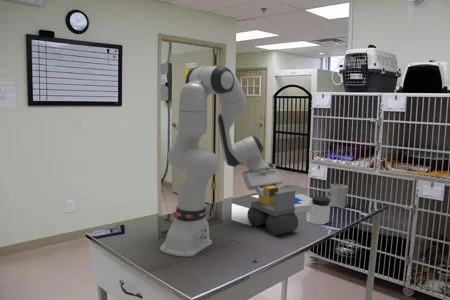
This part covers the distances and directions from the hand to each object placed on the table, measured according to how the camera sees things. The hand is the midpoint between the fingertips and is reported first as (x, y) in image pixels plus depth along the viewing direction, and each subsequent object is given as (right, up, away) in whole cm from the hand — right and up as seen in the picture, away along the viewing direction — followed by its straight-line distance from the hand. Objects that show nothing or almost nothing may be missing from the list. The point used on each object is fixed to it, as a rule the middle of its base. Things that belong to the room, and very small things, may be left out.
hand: (271, 194), depth 162 cm
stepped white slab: (+14, -11, +38) cm, 42 cm away
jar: (+25, -15, +12) cm, 32 cm away
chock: (-1, -4, +2) cm, 5 cm away
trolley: (0, -16, +1) cm, 16 cm away
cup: (+42, -12, +39) cm, 59 cm away
